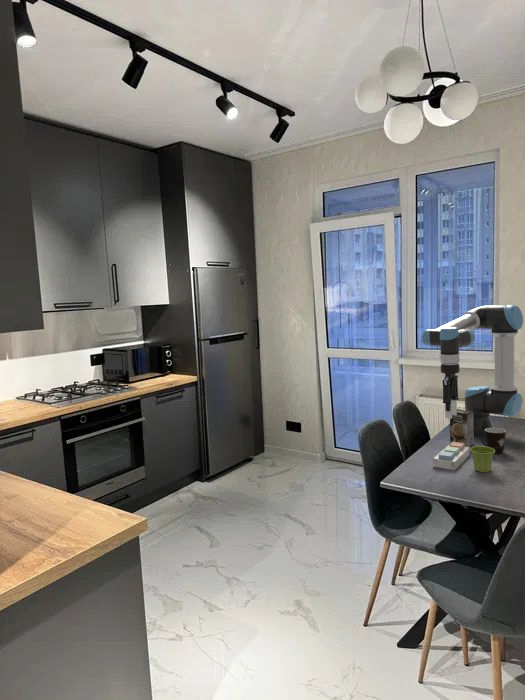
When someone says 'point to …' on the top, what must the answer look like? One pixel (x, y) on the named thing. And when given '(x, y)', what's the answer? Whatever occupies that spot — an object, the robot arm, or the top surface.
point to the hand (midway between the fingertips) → (451, 416)
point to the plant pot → (482, 458)
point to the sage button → (452, 450)
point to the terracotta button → (457, 445)
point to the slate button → (446, 456)
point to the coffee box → (462, 428)
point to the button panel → (454, 462)
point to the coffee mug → (495, 439)
